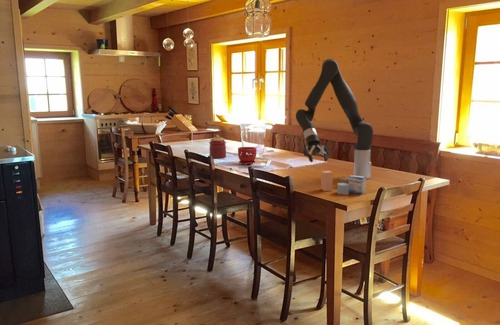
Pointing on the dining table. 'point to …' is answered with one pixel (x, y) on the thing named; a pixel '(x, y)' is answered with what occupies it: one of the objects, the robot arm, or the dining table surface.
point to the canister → (217, 147)
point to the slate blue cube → (343, 188)
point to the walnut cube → (344, 180)
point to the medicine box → (357, 184)
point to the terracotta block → (326, 180)
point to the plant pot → (247, 155)
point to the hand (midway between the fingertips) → (319, 161)
